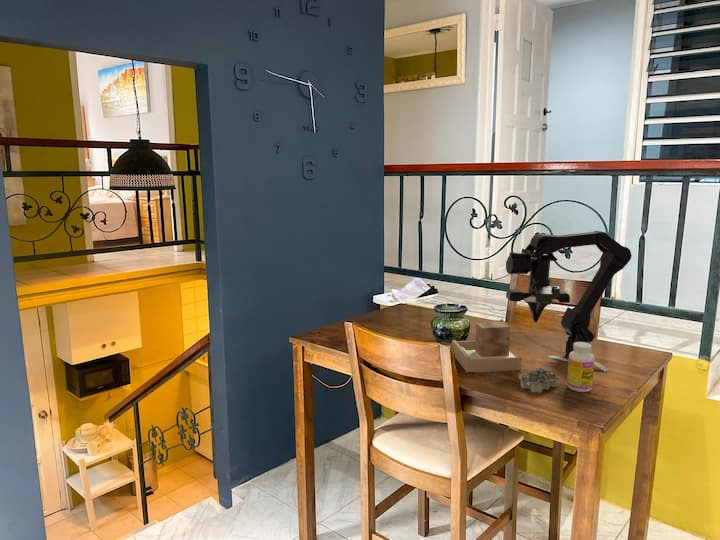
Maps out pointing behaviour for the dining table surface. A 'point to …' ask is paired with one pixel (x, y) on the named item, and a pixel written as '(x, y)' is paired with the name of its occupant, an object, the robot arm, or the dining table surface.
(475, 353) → the tray
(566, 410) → the dining table surface
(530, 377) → the egg carton
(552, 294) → the robot arm
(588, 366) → the supplement bottle
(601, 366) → the fork
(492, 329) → the walnut block
